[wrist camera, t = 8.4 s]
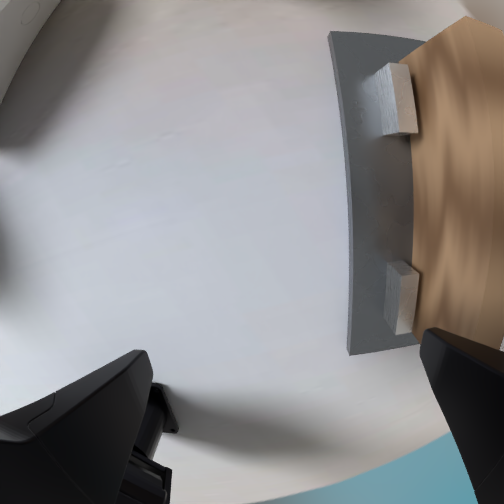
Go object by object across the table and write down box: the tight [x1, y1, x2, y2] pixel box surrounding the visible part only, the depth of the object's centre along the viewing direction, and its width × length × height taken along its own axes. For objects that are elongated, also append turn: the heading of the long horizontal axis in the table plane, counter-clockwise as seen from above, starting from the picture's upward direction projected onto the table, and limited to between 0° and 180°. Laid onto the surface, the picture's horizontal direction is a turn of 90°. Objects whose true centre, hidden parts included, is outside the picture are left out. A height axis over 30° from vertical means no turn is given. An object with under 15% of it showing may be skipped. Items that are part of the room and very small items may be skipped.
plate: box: [328, 31, 426, 356], centre depth 16 cm, size 22×11×4 cm, turn 6°
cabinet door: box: [399, 16, 504, 350], centre depth 13 cm, size 18×4×8 cm, turn 6°
